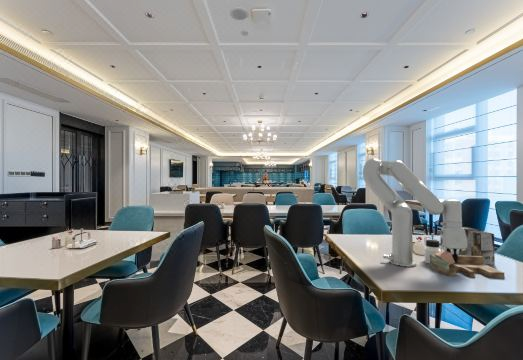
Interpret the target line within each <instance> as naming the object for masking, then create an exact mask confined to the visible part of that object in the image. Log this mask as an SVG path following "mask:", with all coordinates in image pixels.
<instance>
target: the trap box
mask: <svg viewBox="0 0 523 360" xmlns="http://www.w3.org/2000/svg"><path fill="white" fill-rule="evenodd" d="M429 267H430V268H433V270H436V271H438V272H439V273H440V274H442V275H444V276H445V277H456V275H457V273H462V274H464V275H465V276H468V277H470V278H475V277H476V274H481V275H483V276H485V277H487V278H490V279H505V272H504V271H501V270H499V269H496V268H494V267H491V266H490V265H488V264H483V257H482V256H464V255H460V254H459V255H458V261H457V263H453V264H450V265H449V263H448V262H446V261H444V260H442V259H440V258H438V257H436V256H435V255H430V263H429Z"/></svg>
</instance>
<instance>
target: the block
mask: <svg viewBox="0 0 523 360" xmlns="http://www.w3.org/2000/svg"><path fill="white" fill-rule="evenodd" d="M435 256H436V257H438V258H440V259H442V260H444V261H446V262H448V263H449V265H450V264H453V263H455V261H454V259H453V257H452V254H451V253H450V252H447V251H445V250H441V252H438V253H435Z"/></svg>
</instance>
